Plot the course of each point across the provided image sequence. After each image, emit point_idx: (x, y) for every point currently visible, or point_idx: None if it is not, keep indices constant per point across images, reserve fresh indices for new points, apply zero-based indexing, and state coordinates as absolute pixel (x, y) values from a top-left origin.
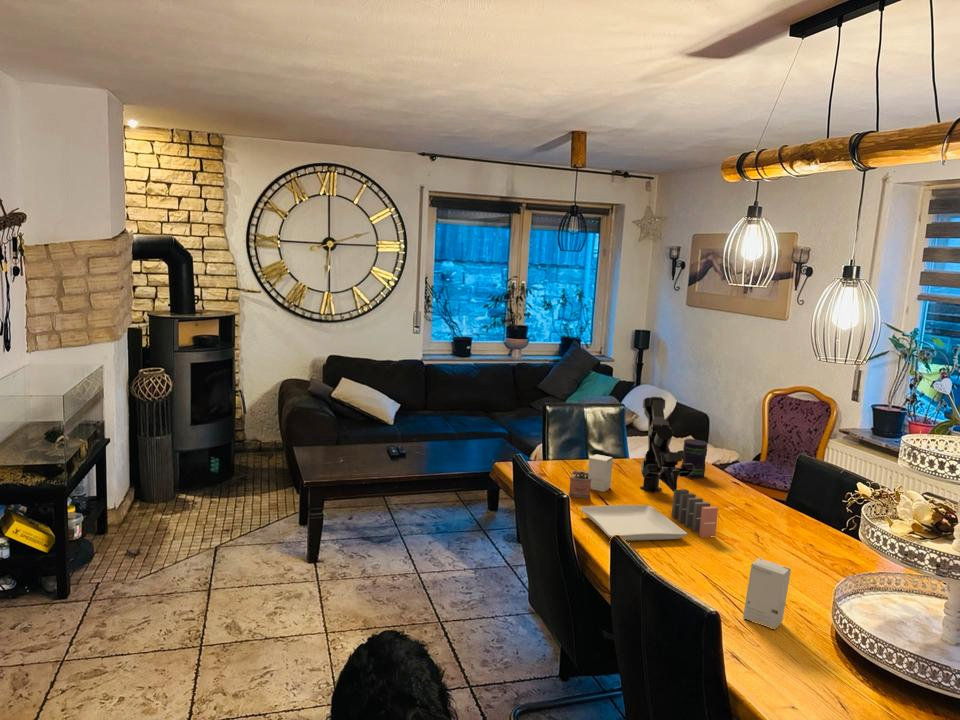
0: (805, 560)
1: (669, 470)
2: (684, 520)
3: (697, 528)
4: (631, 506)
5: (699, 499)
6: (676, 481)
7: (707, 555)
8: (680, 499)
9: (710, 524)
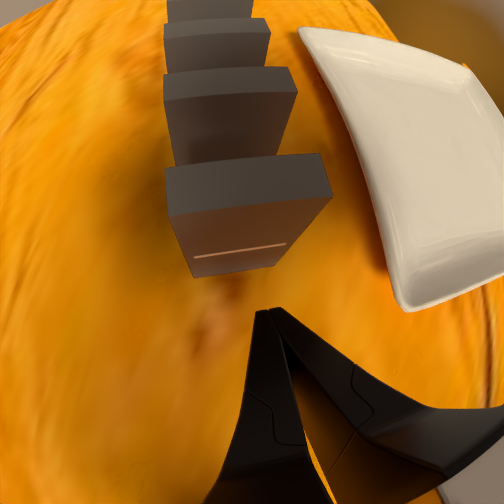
0: (56, 18)
1: (479, 450)
2: None
3: None
4: (470, 281)
5: (192, 21)
6: (254, 391)
7: (263, 3)
8: (285, 117)
9: None
